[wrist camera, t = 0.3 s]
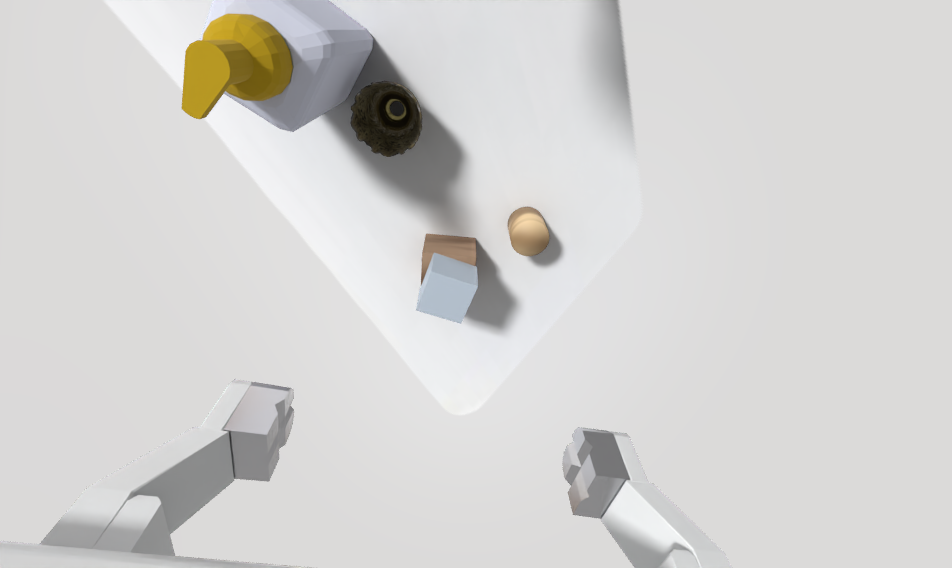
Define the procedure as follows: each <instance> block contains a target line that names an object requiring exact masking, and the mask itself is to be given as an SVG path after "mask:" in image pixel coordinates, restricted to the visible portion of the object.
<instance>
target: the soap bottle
mask: <svg viewBox="0 0 952 568" xmlns="http://www.w3.org/2000/svg"><path fill="white" fill-rule="evenodd" d="M372 46H373V38H372V36H371V35H370V33H369V32H368V30H367V29H366V28H364V27H363V26H362V25H360V24H359V23H358V22H356V21H355V20H354V19H352V18H351V17H350V16H348V15H347V14H346V13H344V12H343V11H342V10H341V9H339V8H338V7H337V6H335V5H334V4H333V3H331V2H330V1H329V0H213V1H212V4H211V7H210V10H209V13H208V16H207V19H206V22H205V25H204V28H203V31H202V34H201V37H200V40H199V41H195V42H193V43H191V44H190V45H189V47H188V48H187V50H186V55H185V68H184V83H183V98H182V109H183V110H184V111H185V112H186V113H187V114H189V115H190V116H192V117H194V118H196V119H202V118H204V117H206V116H207V115H208V114H209V112H210V111H211V110H212V108H213V107H214V105H215V104H216V103H217V101H218V100H219V99H220V97H221V96H222V95H223V93H224V94H226V95H227V96H229V97H230V98H232V99H233V100H235V101H237V102H238V103H240V104H241V105H243V106H245V107H246V108H248V109H249V110H251V111H253V112H254V113H256V114H257V115H259V116H260V117H262V118H264V119H265V120H267V121H268V122H270V123H272V124H273V125H275V126H276V127H278V128H280V129H283V130H287V131H292V132H294V131H295V130H297V129H299V128H300V127H302V126H304V125H305V124H307V123H309V122H310V121H312V120H314V119H316V118H317V117H319V116H321V115H322V114H324V113H326V112H327V111H329V110H331V109H332V108H334V107H336V106H337V105H339V104H341V103H342V102H343V101H345V100H346V99H347V97H348V95H349V93H350V92H351V90H352V88H353V86H354V84H355V82H356V80H357V78H358V76H359V74H360V72H361V70H362V68H363V66H364V64H365V62H366V60H367V59H368V57H369V55H370V53H371V51H372Z"/></svg>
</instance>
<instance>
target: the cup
mask: <svg viewBox="0 0 952 568" xmlns="http://www.w3.org/2000/svg"><path fill="white" fill-rule="evenodd" d="M395 101H398V102H400V103H401V104H402V105H403V107H404V111H403V113H402V114H401V115H400V116H395V115H394V114H392V112H391V110H390V106H391V104H392V103H393V102H395ZM351 110H352V111H353V114H352V117H351V126H352V128H353V129H354V131H355V132H356V136H357V139H358V140H359V141H364V142H365V143H366V144H367V145H368V146H370V147H371V148H372V149H371V151H372V152H374V153H380V154H382V155H383V156H386V157H391V156H394V155H396V154H399V153H400V154H404V153H405V151H406V150H407V149H411V148H413V146H414V145H415V143H416V142H417V141H418V138H419V136H420V132H421V130H422V114H421V109H420V106H419V103H418V101H417V99H416V97H415V96H414V95H413V93H412V92H411V91H410V90H409V89H407V88H406V87H404V86H402V85H400V84H398V83H394V82H388V81H382V82H373V83H371V85H368V86H366V87H364V88H363V89H362V90H361V91H360V92H359V93H358V94H357V95H356V97H355V103H354V104H353V105H352V106H351Z"/></svg>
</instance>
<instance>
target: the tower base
mask: <svg viewBox="0 0 952 568" xmlns="http://www.w3.org/2000/svg"><path fill="white" fill-rule="evenodd" d="M433 253H437V254H440V255H443V256H446V257H449V258H452V259H455V260H458V261H461V262H464V263H467V264H470V265H473V266H475V265H476V238H469V237H458V236H447V235H435V234H426V237H425V242H424V247H423V253H422V274H421V285H422V282H423V280H424V277H425V274H426V272H427V269H428V267H429V264H430V261H431V259H432V256H433Z"/></svg>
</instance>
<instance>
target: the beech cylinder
mask: <svg viewBox="0 0 952 568" xmlns="http://www.w3.org/2000/svg"><path fill="white" fill-rule="evenodd" d="M508 230H509V235H510V240H511V244H512V247H513V248H514V250H515V251H516V252H517V253H519V254H521V255H524V256H534V255H537V254H539V253H541V252H542V251H543V250H544V249H545V248H546V247H547V245H548V243H549V232H548V230H547V227H546V225H545V222H544V220H543V217H542V215H541V214H540V212H539V211H538V210H536V209H534V208H531V207H522V208H519V209H517V210H515V211H514V212H513V213H512V214H511V216H510V217H509V220H508Z"/></svg>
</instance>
